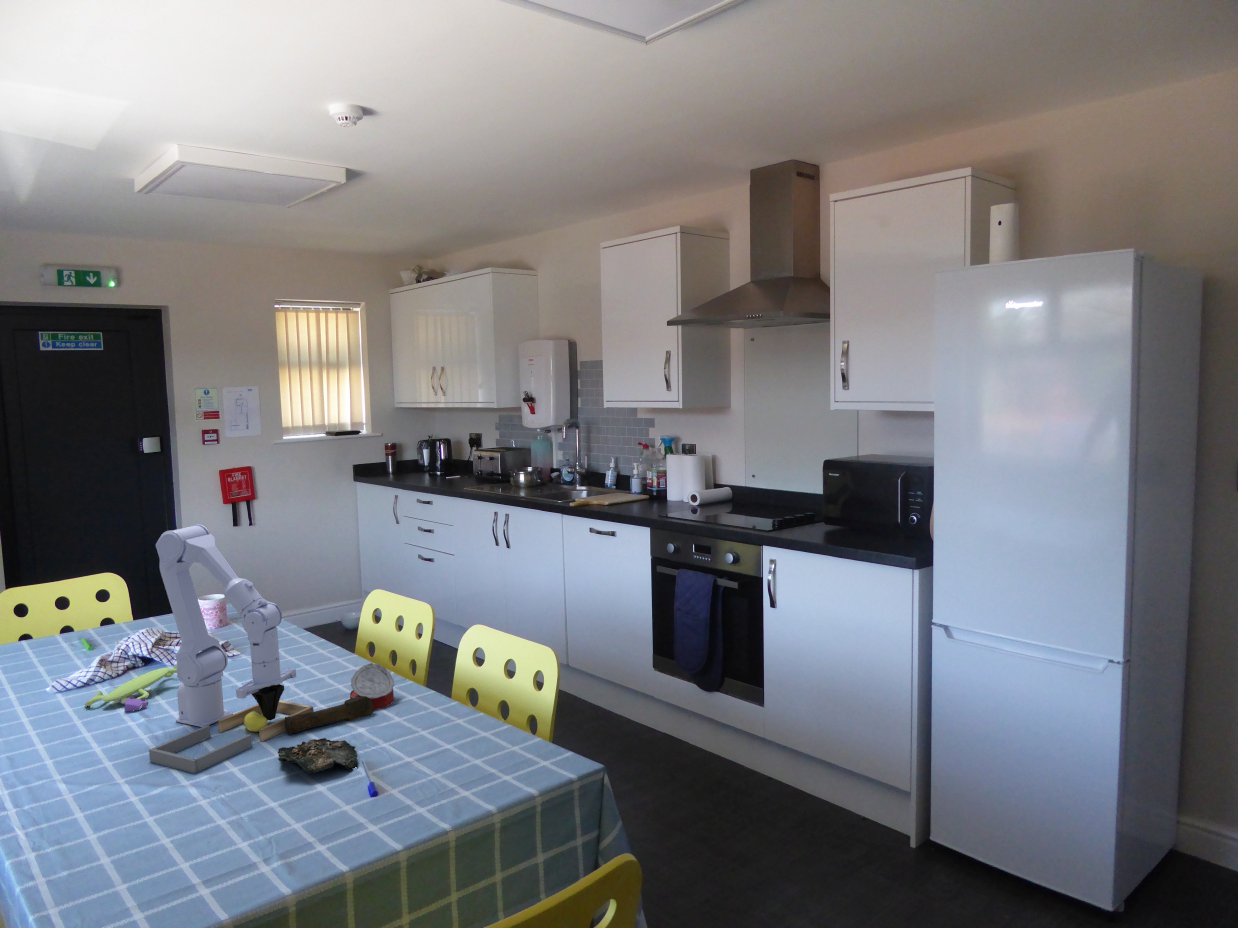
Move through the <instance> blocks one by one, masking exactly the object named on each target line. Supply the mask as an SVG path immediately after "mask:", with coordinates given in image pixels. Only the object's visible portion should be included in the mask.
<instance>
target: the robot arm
mask: <svg viewBox="0 0 1238 928" xmlns="http://www.w3.org/2000/svg"><path fill="white" fill-rule="evenodd" d="M155 549H156V550H157V554H158V558H159V566H158V567H159V572H160V576H161V579H162V583H163V584H164V589H165V591H166V595H167V598H168V601H169V605H170V607H171V611H172V614H173V618H174V621H175V624H176V627H177V631H178V634H179V638H180V640H181V645H180V647H179V649H178V651H177V652H176V653H175V660H176V665H177V673H176V677H177V676H178V677H177V678H178V679H179V680H180V682H181V683H180V685H179V687H178V689H177V694H176V695H177V696H176V697H177V706H178V709H177V710H178V718H175V722H177V723H183V724H185V725H191V726H195V727H199V728H202V727H204V726H207V725H208V726H210V725H212V724H215V723H218V721H219V720H221V719H224V718H226V717H228V716H231V715H233V714H234V713H233V712H231V711H226V710H225V706H224V693H223V679H222V677H224V671H225V670H226V668H227V667H228V664H229V663H228V662H229V659H228V655H227V653H226V651H225V650H224V649H223V648H222V646H221V644H220V641H219V639H217V638H215V637H213V636H211V635H209V631H208V628H207V625H206V622H205V618H204V616H203V611H202V609H201V606H200V602H199V599H198V595H197V593H196V590H195V587H194V583H193V579H192V576H191V573H190V569H191V566H192V565H193V564H194V563H198V564H201V566H203V567H204V568H205V569H206V571H208V572H209V573H210V575H211V576H213V578H215V579H216V580H217V582H218V583H219V584H221V586H223V588H224V593H223V596H224V598H225V599H226V600H227V602H229V603H230V604H231V606H232V607H233V608H234V609H235V611H237V613H238V614H239V615H240V616H241V618H242V619H243V621H241V626H242V628H243V630H244V631H245V633H246V635H247V640H248V641H249V647H250V660H251V674H252V679H251V680H250V681H249V682H247V683H245V684H243V685H242V686H240V687H238V688H236V689H235V696H236V698H237V699H242V700H244V699H246V698H247V697H248V696H250V695H251V696H252V697H253V698H254V700H255V702H256V703H257V704H258V705H259V706H260V709H261V711H262V714H263V715H262V716H264V717H265V718H266V719H267V721H269V722H270V721H273V720H275V719H276V716H277V715H276V714H277V713H278V712H277V707H278V703H279V700H280V701H281V697H282V695H283V693H284V691H285V685H284V684H283V682H285V681H288V680H289V679H294V678H297V669H296V668H287V669H283V670H281V665H280V662H281V660H280V648H279V636H278V634H279V633H278V626H279V625H280V624H281V622H282V621H283V620H282V619H283V615H282V614H283V613H282V611H281V608H280V607H279V605H278V604H276V603H275V602H271V601H269V600H267V599H265V598H264V597H263V596H262V595H261V594H260V593H259V592H258V590H257V589H256V588H255V587H254V586H255V585H254V583H253V582H252V581H251V580H250V581H249V580H248V579H247V578H242V577H238V575H237V574H236V571H234V570H233V568H232V567H231V566H230V564H229V563H228V560H226V558H225V557H224V556H223V554H222V552H220V550H219V549H218V547H217V545H216V537H215V536H214V535H213V534H211V532H210V531H209V529H208V528H207V527H206V526H205V525H204V524H197V523H196V524H193V525H191V526H188V527H182V528H177V529H174V530H173V529H172V530H166V531H164V532H162V534H161V535H160V537H159V538H158V540H157V541H156V543H155Z"/></svg>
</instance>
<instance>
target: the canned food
mask: <svg viewBox="0 0 1238 928" xmlns="http://www.w3.org/2000/svg"><path fill="white" fill-rule="evenodd" d="M350 687H351V689H352V690H351V691H350V693H349V699H350V698H357V697H361V696H366V697H368V698H370V700H371V701H372V703H373V705H374V711H376V709H377V710H380V708H381V709H383V707H384V708H386V706H387V707H389V706H391V705H392V704H393V703H394V702H393V701H395V697H394V695H395V694H394V687H395V679H394V678H393V675H392V674H391V673H390V672H389V671H388V669H387V668H386V667H385V666H383V665H381V664H380V663H373V662H371V663H367V664H365V665H362V666H361V667H359V669H357V670H355V672H354V674H353V675H352V677H351V682H350ZM392 702H393V703H392ZM391 703H392V704H391ZM388 705H389V706H388Z"/></svg>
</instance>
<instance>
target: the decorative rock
mask: <svg viewBox="0 0 1238 928" xmlns="http://www.w3.org/2000/svg"><path fill="white" fill-rule="evenodd" d="M355 749H356V746H355V745H351V744H350V743H349V742H347V740H345V739H344V740H331V739H327V738H326V737H325V738H324V737H323V738H319V739H315V738H314V739H309V740H308V741H302V742H301V744H296V745H294V746H293V745H292V746H289V747H285V746H283V747H280V748H278V751H277V754H278V757H279V758H278V759H277V760H278V761H279V762H283V763H284V762H285V763H287V762H289V763H291V764H293V763H296V764H297V765H298V766H299V767H300V768H302V769H303V771H304V773H307V774H317V773H318V772H320V771H321V772H322V771H326V770H327V769H331V768H333V767H334V765H335V764H337V765H338V766H343V767H345V769H347V770H348V771H349V770H353V771H354V769H352V768H355V767H358V766H359V765H358V760H357V759H358V756H357V752H356V750H355ZM358 768H359V767H358ZM355 769H356V768H355Z"/></svg>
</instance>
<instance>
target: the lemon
mask: <svg viewBox="0 0 1238 928" xmlns="http://www.w3.org/2000/svg"><path fill="white" fill-rule="evenodd" d="M243 724H244V726H245V728H246V729H247V731H249V732H251V733H252V732H253V733H258V732H259V729H262V728H264V727H266V726H268V720H267V719H266V718H265V717H264V716H263V715H261V714H259V713H257V712H250V713H248V714H247V715H246V716H245V719H244V723H243Z"/></svg>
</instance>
